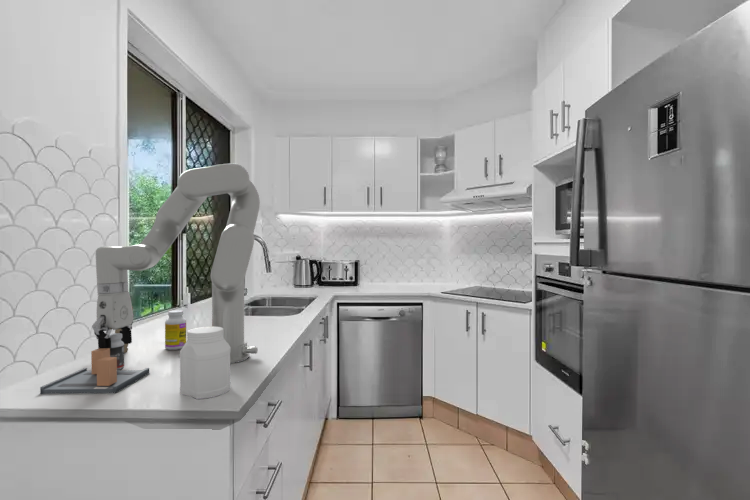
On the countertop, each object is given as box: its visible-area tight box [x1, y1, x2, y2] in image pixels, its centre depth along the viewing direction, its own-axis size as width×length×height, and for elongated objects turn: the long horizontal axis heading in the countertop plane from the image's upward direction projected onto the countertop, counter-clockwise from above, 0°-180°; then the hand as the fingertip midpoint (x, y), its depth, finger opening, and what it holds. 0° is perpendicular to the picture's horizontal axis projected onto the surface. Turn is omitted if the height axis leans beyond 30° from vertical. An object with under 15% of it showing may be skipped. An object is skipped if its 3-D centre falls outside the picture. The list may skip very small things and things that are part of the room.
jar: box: [179, 326, 232, 400], centre depth 100 cm, size 12×10×15 cm
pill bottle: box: [109, 332, 125, 370], centre depth 118 cm, size 6×6×10 cm
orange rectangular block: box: [90, 347, 110, 374], centre depth 110 cm, size 3×3×6 cm
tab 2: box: [97, 357, 117, 386], centre depth 101 cm, size 3×3×6 cm
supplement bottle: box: [164, 309, 187, 351], centre depth 141 cm, size 7×7×13 cm
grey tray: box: [39, 367, 150, 395], centre depth 106 cm, size 18×15×2 cm
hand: (115, 347), depth 118 cm, fingers open, 9 cm apart
